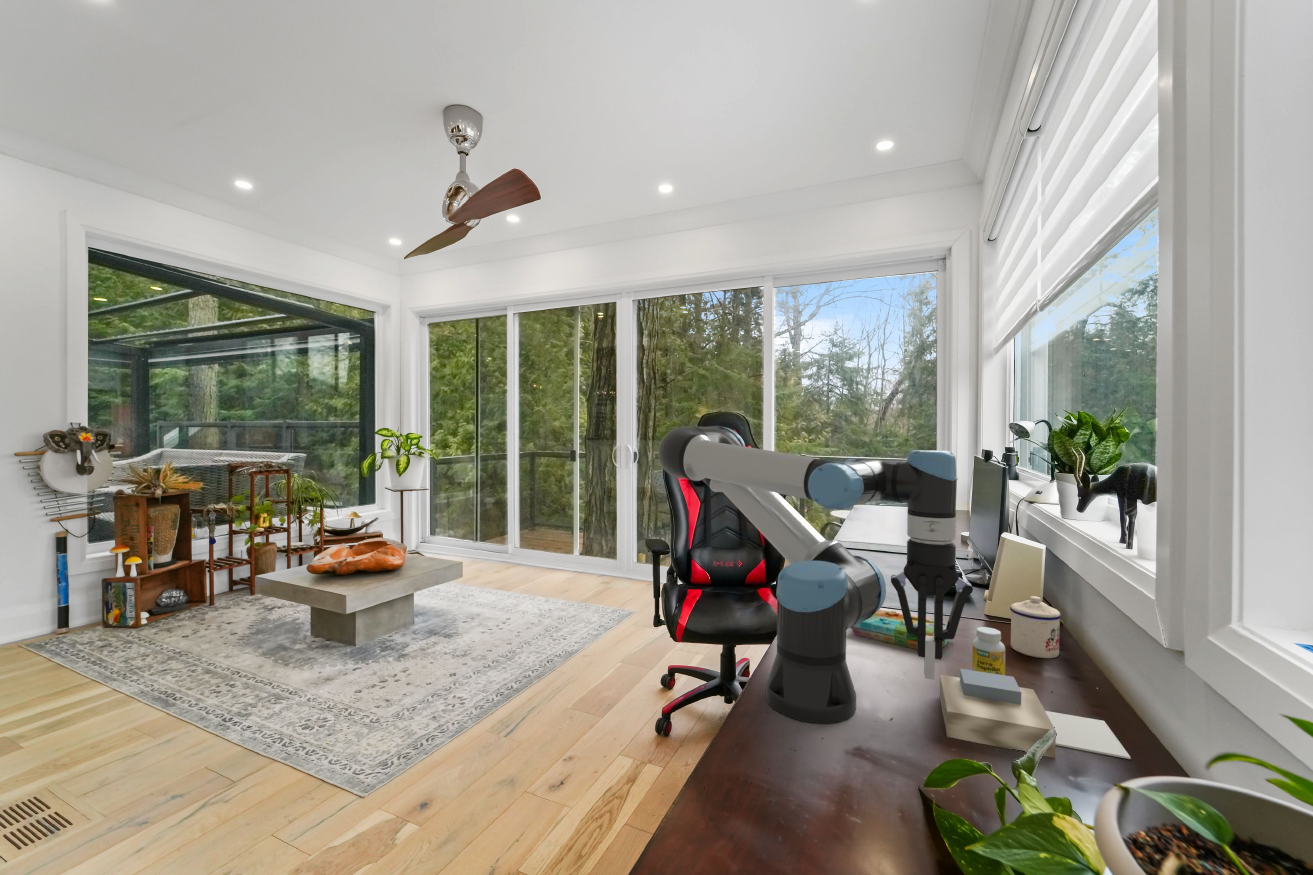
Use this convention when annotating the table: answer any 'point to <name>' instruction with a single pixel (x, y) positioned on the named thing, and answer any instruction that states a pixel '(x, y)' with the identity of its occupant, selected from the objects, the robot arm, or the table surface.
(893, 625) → the puzzle game
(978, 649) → the supplement bottle
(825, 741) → the table surface
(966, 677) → the slate tile
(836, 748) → the table surface
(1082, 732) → the white mat
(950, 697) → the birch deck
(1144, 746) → the table surface
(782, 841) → the table surface
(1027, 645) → the teacup with lid
